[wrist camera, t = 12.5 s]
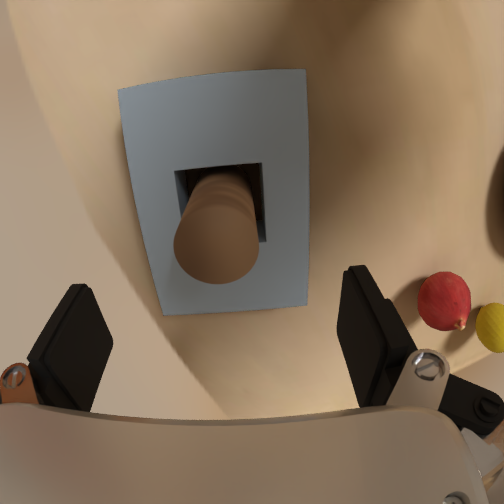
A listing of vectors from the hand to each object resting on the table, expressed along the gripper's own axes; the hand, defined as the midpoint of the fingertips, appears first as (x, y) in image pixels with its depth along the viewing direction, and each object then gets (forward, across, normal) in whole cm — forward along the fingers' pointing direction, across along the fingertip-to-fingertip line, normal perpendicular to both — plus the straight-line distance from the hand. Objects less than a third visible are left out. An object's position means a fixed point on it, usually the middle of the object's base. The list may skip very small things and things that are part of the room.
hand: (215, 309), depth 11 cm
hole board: (+16, 0, +1) cm, 16 cm away
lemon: (+16, -31, +18) cm, 39 cm away
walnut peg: (+16, 0, +1) cm, 16 cm away
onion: (+16, -20, +12) cm, 28 cm away
